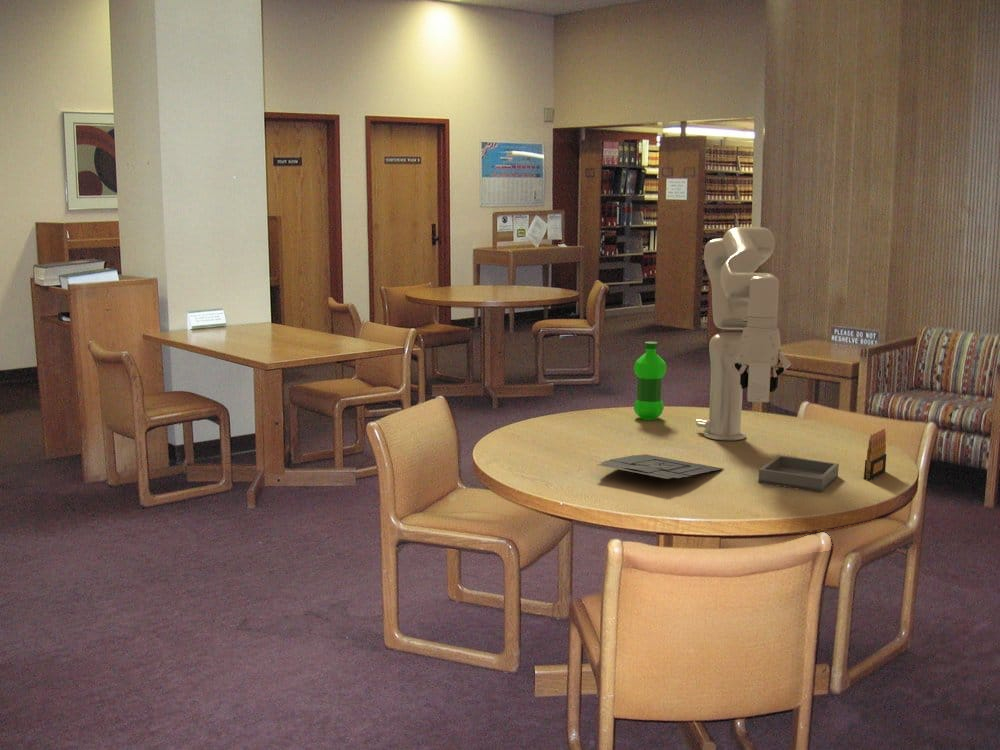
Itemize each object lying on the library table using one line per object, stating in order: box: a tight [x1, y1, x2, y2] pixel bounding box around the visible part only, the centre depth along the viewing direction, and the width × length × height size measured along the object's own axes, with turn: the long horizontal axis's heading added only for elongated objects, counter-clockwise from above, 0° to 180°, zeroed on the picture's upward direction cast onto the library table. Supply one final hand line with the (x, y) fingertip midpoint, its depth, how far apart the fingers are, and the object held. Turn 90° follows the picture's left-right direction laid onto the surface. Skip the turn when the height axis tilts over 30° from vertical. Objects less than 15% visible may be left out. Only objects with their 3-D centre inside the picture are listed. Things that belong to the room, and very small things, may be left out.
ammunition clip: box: [863, 428, 887, 481], centre depth 273 cm, size 11×2×12 cm, turn 140°
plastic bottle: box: [633, 341, 667, 421], centre depth 336 cm, size 10×10×25 cm
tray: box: [758, 454, 840, 493], centre depth 269 cm, size 16×17×4 cm
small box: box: [746, 362, 771, 403], centre depth 275 cm, size 8×6×10 cm
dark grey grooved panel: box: [597, 453, 725, 480], centre depth 274 cm, size 24×30×4 cm
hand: (758, 389), depth 276 cm, fingers closed on small box, 7 cm apart
